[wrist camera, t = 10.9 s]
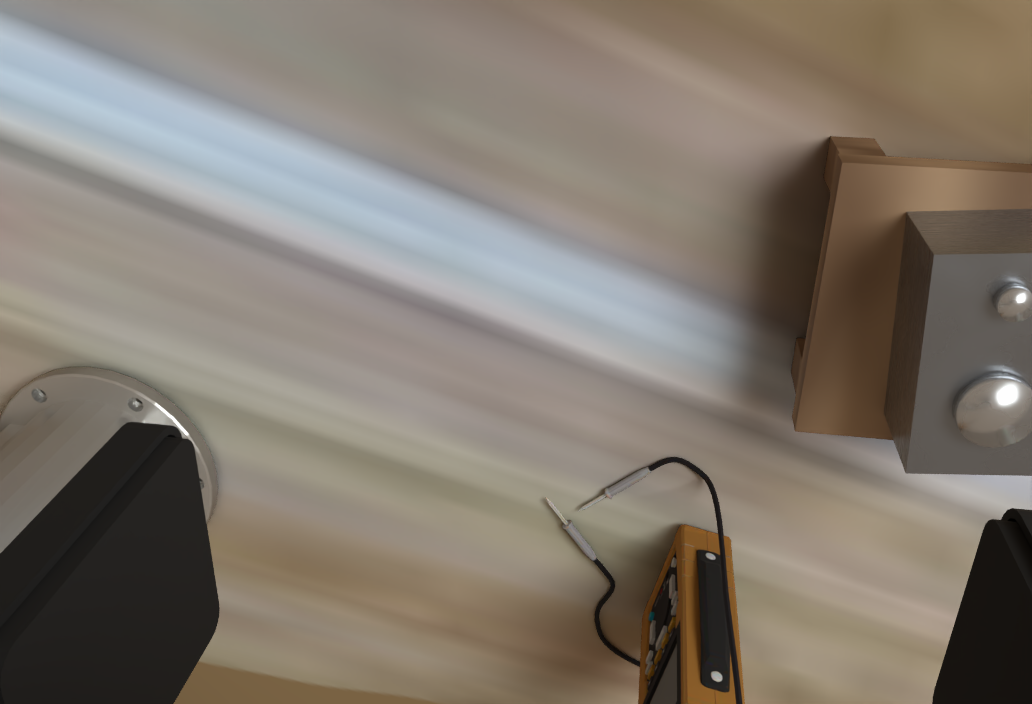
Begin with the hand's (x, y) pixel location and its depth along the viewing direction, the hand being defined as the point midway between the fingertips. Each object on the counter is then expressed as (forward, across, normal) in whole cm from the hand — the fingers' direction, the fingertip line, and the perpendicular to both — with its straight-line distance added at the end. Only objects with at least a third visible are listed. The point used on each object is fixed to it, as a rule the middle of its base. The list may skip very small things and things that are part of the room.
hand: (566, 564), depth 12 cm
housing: (+28, -14, +9) cm, 33 cm away
